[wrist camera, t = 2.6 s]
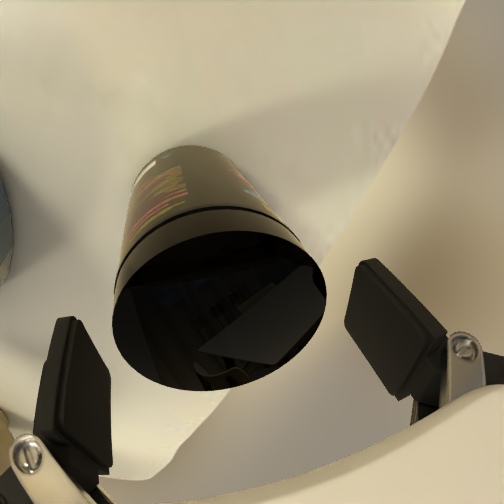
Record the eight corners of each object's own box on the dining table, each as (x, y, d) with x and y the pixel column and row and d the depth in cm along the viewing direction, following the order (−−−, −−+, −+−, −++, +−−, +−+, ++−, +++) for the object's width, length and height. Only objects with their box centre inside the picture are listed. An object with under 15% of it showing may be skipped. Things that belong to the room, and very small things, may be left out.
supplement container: (208, 263, 20) (253, 399, 12) (112, 224, 17) (88, 369, 8) (264, 175, 18) (364, 278, 10) (164, 121, 15) (172, 182, 6)
